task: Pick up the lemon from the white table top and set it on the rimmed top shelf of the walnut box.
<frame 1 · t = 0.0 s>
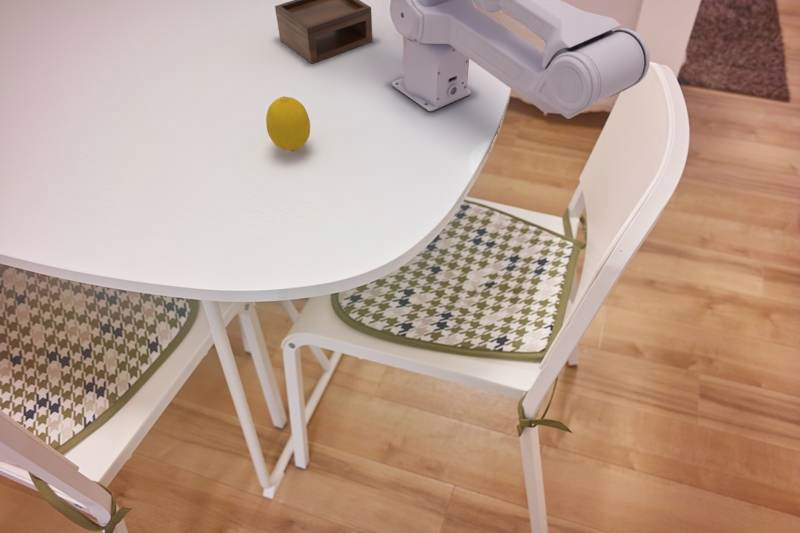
walnut box: (326, 40, 102), on the table
lemon: (292, 151, 82), on the table
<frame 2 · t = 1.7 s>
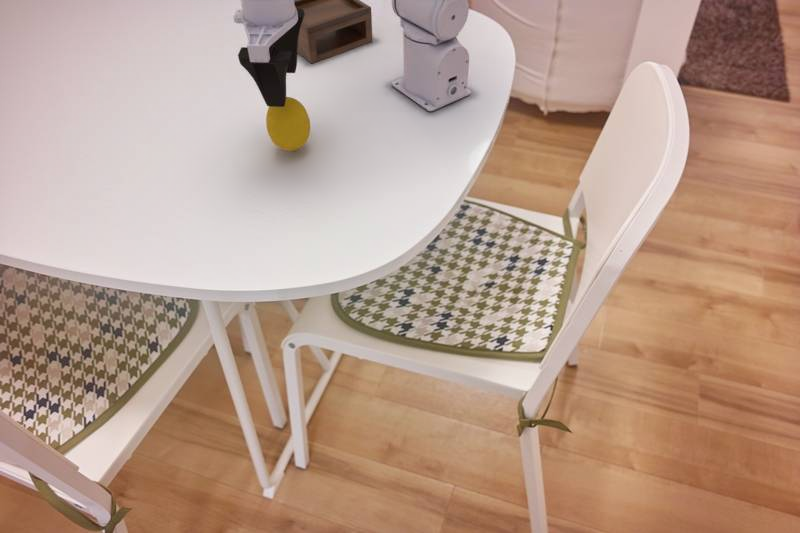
hand: (282, 87, 75), 9 cm above the table, tool pointing down, fingers open, 7 cm apart
nothing on the table moved.
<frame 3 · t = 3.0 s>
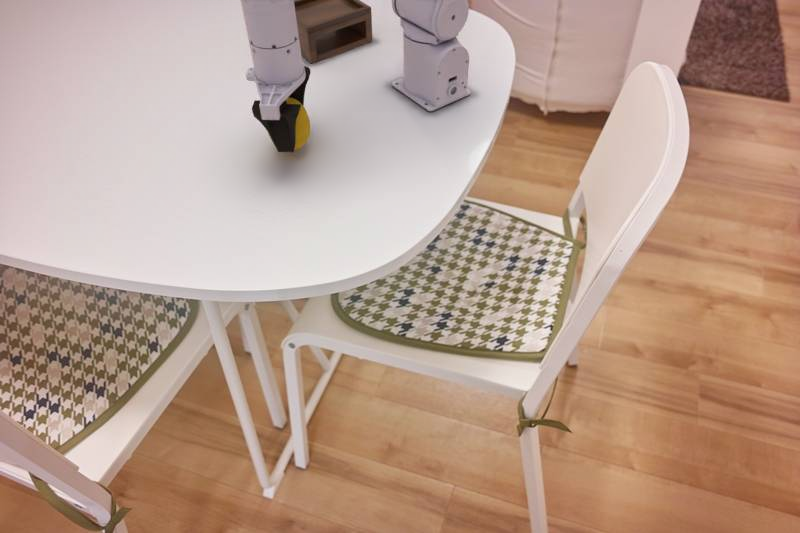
hand: (290, 136, 80), 2 cm above the table, tool pointing down, fingers closed on lemon, 5 cm apart
lemon: (292, 151, 82), on the table, touching gripper
everything else where it was.
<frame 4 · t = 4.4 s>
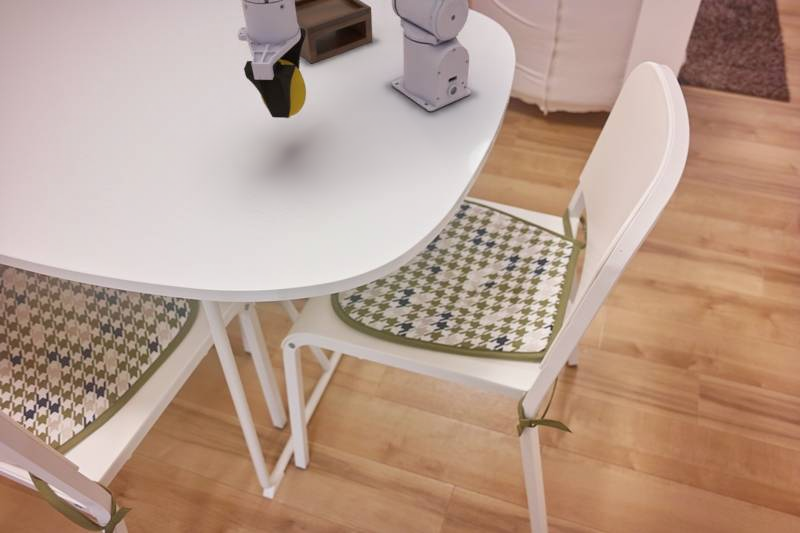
hand: (285, 102, 76), 7 cm above the table, tool pointing down, fingers closed on lemon, 5 cm apart
lemon: (288, 118, 78), point 5 cm above the table, touching gripper
everything else where it was.
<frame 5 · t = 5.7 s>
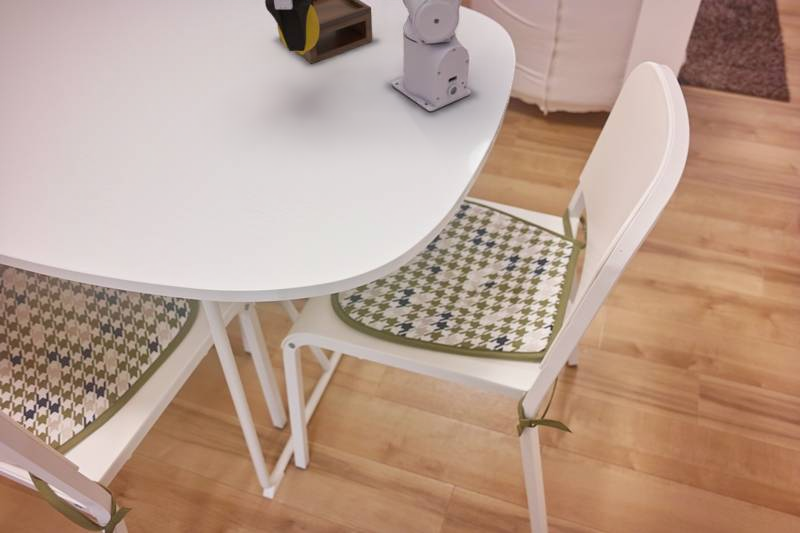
hand: (300, 38, 83), 9 cm above the table, tool pointing down, fingers closed on lemon, 5 cm apart
lemon: (302, 55, 85), point 7 cm above the table, touching gripper
everything else where it was.
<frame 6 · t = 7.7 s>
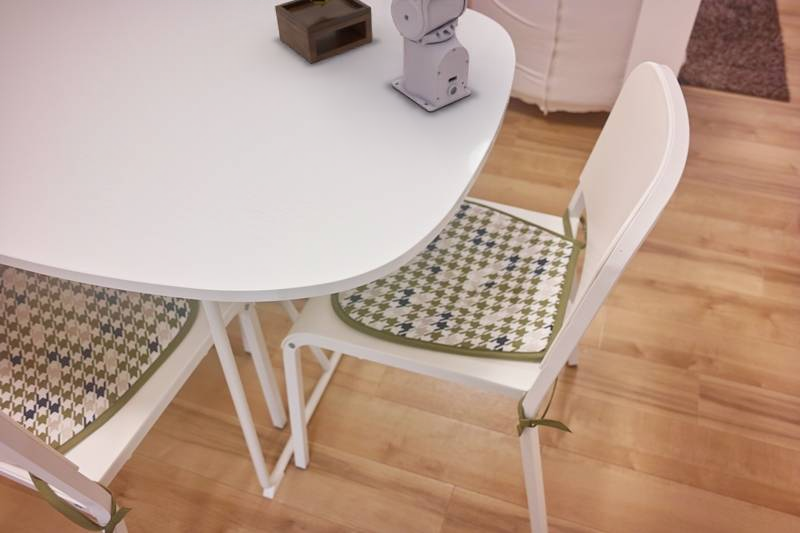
lemon: (322, 7, 98), point 6 cm above the table, touching gripper
everything else where it was.
when the fingers open (7 cm above the table, at t = 8.5 s): lemon moves 2 cm, resting on walnut box.
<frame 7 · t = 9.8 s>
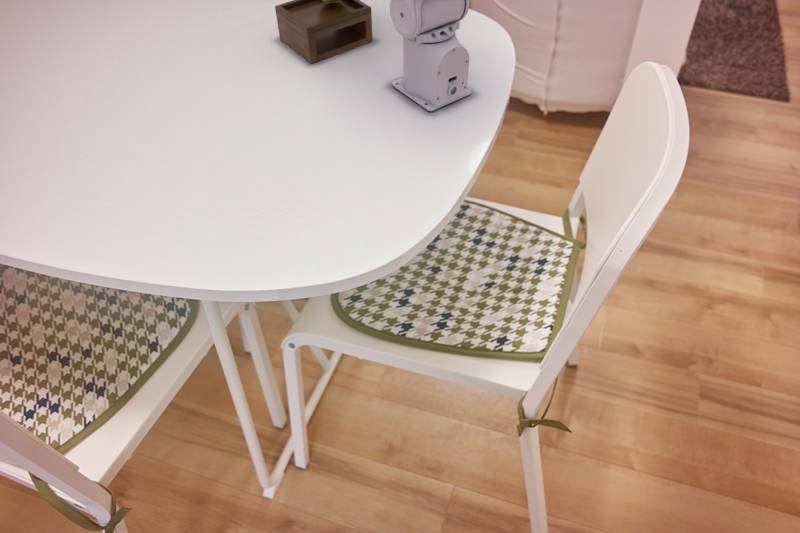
lemon: (323, 2, 98), point 6 cm above the table, touching walnut box
everything else where it was.
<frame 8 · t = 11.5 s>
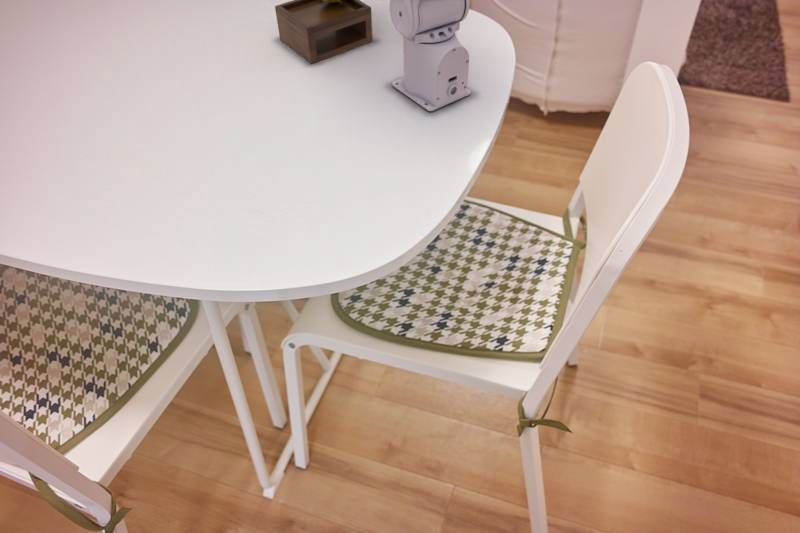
nothing on the table moved.
at the end: lemon inside the target area on the walnut box (0.6 cm from its centre), point 6.3 cm above the walnut box's base; the gripper is holding nothing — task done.
